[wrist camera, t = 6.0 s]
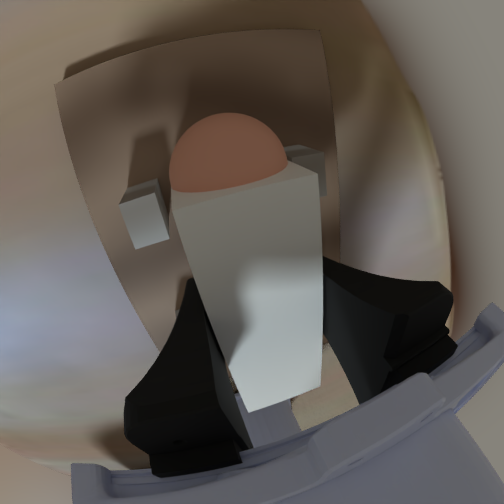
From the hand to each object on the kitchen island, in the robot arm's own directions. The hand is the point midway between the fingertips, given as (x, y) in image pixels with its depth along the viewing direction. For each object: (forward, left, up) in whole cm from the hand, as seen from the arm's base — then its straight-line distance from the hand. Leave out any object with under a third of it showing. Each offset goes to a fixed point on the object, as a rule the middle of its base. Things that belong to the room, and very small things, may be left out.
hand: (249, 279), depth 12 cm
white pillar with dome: (0, 0, -2) cm, 2 cm away
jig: (0, 0, -4) cm, 4 cm away
